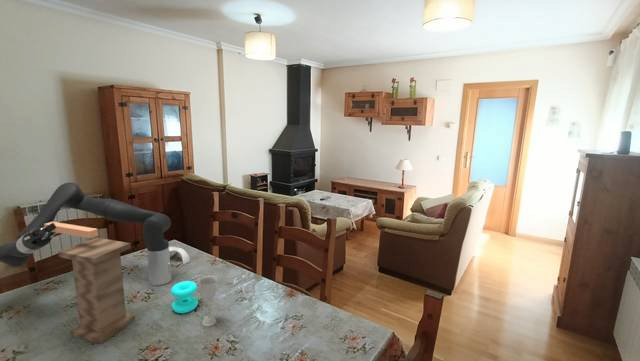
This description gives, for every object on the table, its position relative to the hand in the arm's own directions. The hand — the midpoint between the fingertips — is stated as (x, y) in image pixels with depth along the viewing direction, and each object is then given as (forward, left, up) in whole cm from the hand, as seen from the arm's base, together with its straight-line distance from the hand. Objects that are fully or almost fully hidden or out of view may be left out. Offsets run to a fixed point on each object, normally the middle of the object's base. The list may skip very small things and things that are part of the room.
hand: (59, 224), depth 113 cm
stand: (-11, +13, -39) cm, 42 cm away
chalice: (-45, +30, -39) cm, 66 cm away
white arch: (-42, -39, -39) cm, 69 cm away
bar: (-3, +4, -3) cm, 6 cm away
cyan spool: (-39, +15, -39) cm, 57 cm away
